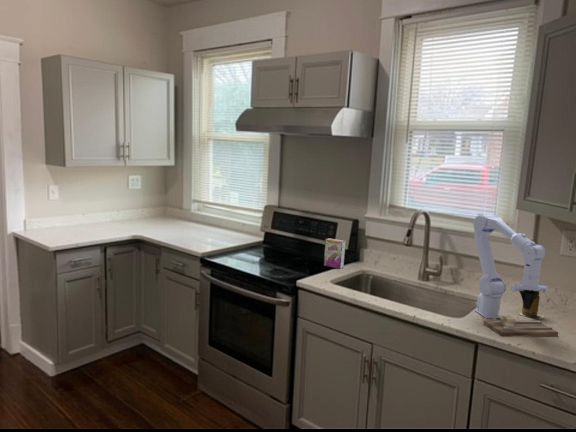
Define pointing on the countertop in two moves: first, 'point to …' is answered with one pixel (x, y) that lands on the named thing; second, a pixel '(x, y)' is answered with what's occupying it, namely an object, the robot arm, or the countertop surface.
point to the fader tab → (507, 321)
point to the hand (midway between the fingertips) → (526, 308)
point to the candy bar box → (334, 253)
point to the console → (522, 329)
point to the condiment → (532, 310)
